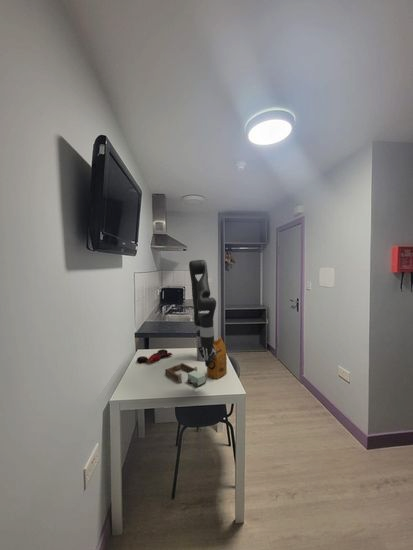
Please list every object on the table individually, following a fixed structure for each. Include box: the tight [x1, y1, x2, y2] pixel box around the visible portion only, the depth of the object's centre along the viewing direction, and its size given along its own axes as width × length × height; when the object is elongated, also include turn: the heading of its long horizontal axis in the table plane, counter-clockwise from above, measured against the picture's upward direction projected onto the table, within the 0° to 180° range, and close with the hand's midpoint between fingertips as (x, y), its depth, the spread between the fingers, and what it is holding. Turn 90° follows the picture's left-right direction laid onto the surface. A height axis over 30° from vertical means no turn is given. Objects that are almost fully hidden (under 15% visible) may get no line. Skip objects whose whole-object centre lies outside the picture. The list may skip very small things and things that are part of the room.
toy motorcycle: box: [136, 348, 173, 364], centre depth 170 cm, size 25×5×16 cm
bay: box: [164, 363, 198, 384], centre depth 144 cm, size 14×15×5 cm
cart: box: [186, 370, 207, 388], centre depth 134 cm, size 9×7×5 cm
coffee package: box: [206, 336, 228, 380], centre depth 144 cm, size 10×12×22 cm
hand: (207, 366), depth 126 cm, fingers closed
